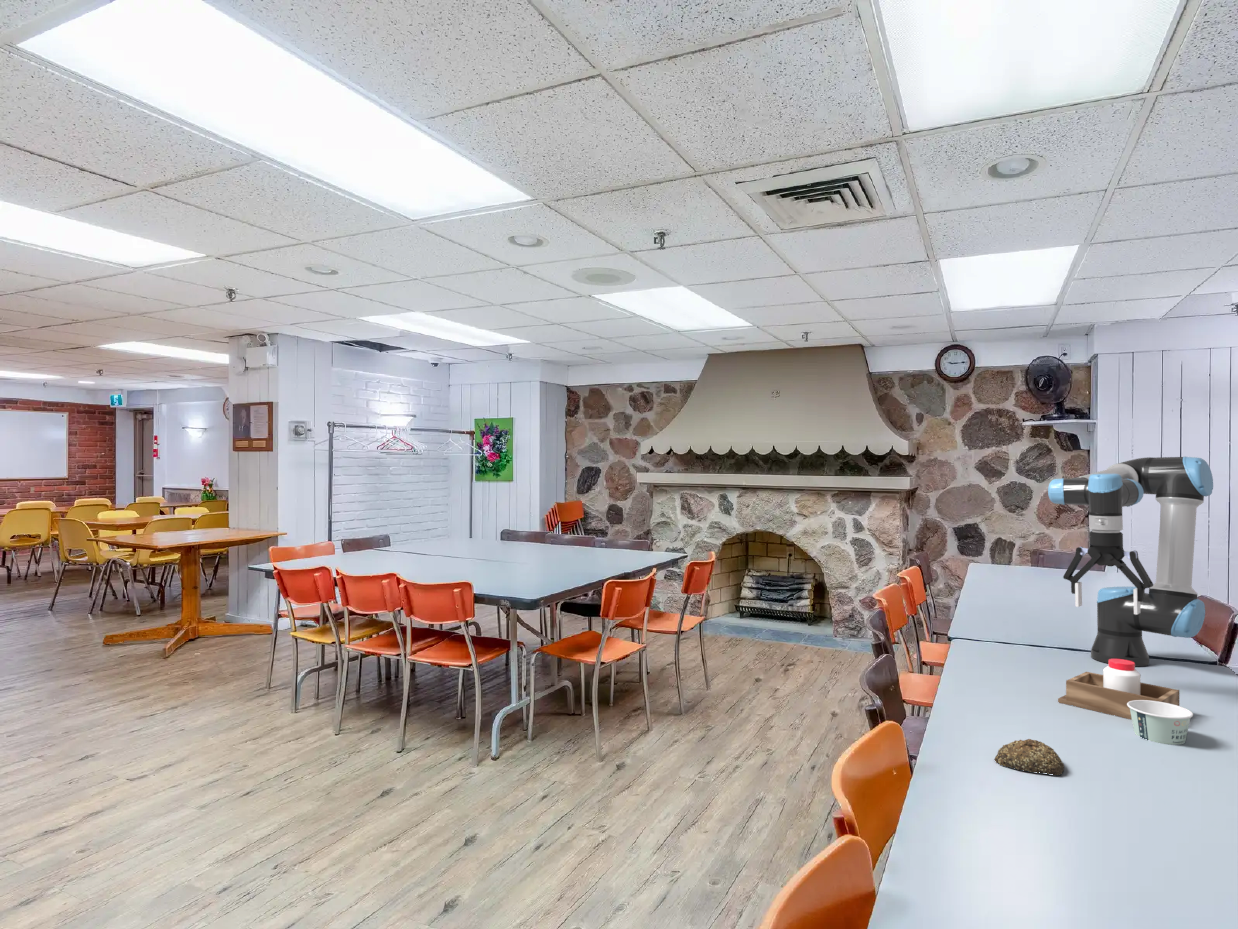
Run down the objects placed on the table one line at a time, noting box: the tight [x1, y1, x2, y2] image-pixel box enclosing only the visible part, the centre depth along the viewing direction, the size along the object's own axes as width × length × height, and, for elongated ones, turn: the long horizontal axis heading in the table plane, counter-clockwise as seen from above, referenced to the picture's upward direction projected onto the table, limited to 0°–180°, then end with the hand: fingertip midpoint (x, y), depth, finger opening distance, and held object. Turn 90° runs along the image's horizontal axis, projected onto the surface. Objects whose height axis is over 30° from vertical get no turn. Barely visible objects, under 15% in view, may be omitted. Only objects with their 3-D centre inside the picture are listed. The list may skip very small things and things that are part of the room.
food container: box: [1127, 700, 1194, 746], centre depth 163 cm, size 12×12×6 cm
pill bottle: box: [1102, 659, 1141, 695], centre depth 182 cm, size 8×8×11 cm
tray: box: [1057, 671, 1180, 721], centre depth 182 cm, size 14×24×6 cm, turn 38°
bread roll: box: [993, 738, 1065, 776], centre depth 149 cm, size 13×12×5 cm
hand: (1107, 609), depth 195 cm, fingers open, 13 cm apart
